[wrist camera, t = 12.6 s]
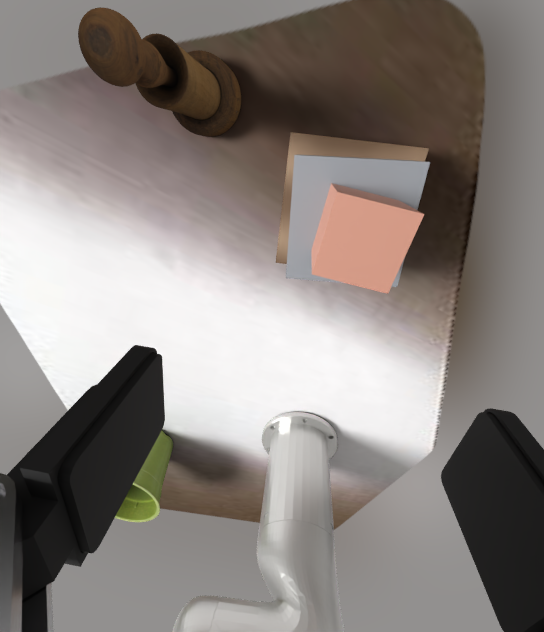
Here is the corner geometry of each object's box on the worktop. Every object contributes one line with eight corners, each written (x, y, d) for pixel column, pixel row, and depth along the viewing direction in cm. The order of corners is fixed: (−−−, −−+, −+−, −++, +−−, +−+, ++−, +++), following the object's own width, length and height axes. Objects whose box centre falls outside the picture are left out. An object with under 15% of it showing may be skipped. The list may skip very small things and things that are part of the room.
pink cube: (372, 265, 26) (387, 293, 21) (311, 250, 26) (311, 274, 21) (399, 200, 24) (424, 214, 18) (331, 183, 24) (337, 191, 18)
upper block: (384, 268, 31) (397, 287, 27) (288, 260, 32) (285, 278, 28) (410, 160, 27) (430, 162, 22) (296, 154, 27) (294, 155, 23)
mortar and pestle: (224, 42, 28) (113, -100, 12) (251, 120, 30) (190, 86, 15) (164, 76, 30) (-2, -8, 14) (194, 147, 32) (85, 143, 16)
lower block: (378, 262, 36) (388, 278, 32) (279, 249, 37) (275, 262, 32) (411, 148, 30) (428, 148, 26) (293, 134, 31) (290, 132, 27)
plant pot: (111, 422, 55) (68, 481, 45) (166, 412, 52) (133, 472, 42) (144, 464, 60) (111, 525, 50) (196, 457, 57) (172, 520, 47)
